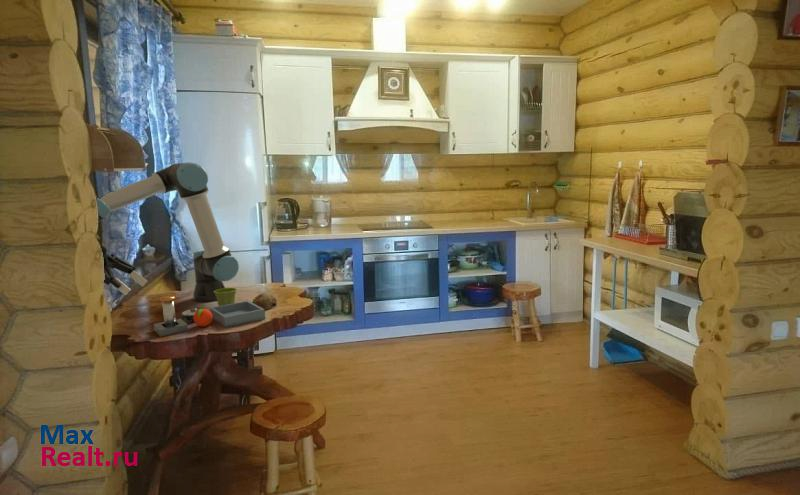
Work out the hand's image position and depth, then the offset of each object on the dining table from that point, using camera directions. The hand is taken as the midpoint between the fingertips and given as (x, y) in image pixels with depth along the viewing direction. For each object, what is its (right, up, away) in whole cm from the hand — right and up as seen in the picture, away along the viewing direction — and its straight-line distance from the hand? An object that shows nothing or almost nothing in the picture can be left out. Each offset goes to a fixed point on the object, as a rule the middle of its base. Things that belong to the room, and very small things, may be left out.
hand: (137, 288), depth 181 cm
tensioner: (+13, -15, +10) cm, 22 cm away
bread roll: (+39, -11, +32) cm, 52 cm away
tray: (+32, -14, +17) cm, 39 cm away
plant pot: (+23, -12, +30) cm, 40 cm away
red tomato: (+22, -16, +7) cm, 28 cm away
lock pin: (+11, -16, +3) cm, 20 cm away
